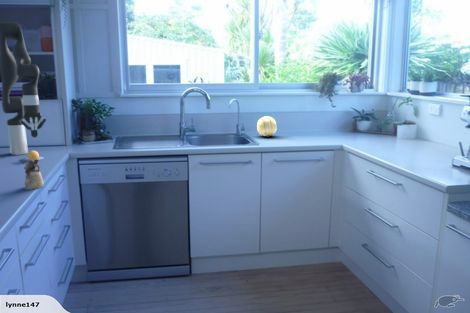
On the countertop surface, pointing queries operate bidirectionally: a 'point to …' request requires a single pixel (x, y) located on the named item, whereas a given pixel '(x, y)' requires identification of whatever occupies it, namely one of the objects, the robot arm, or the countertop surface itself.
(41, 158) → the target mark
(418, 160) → the countertop surface
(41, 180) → the figurine
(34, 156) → the ball
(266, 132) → the cantaloupe
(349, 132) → the countertop surface
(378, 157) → the countertop surface
